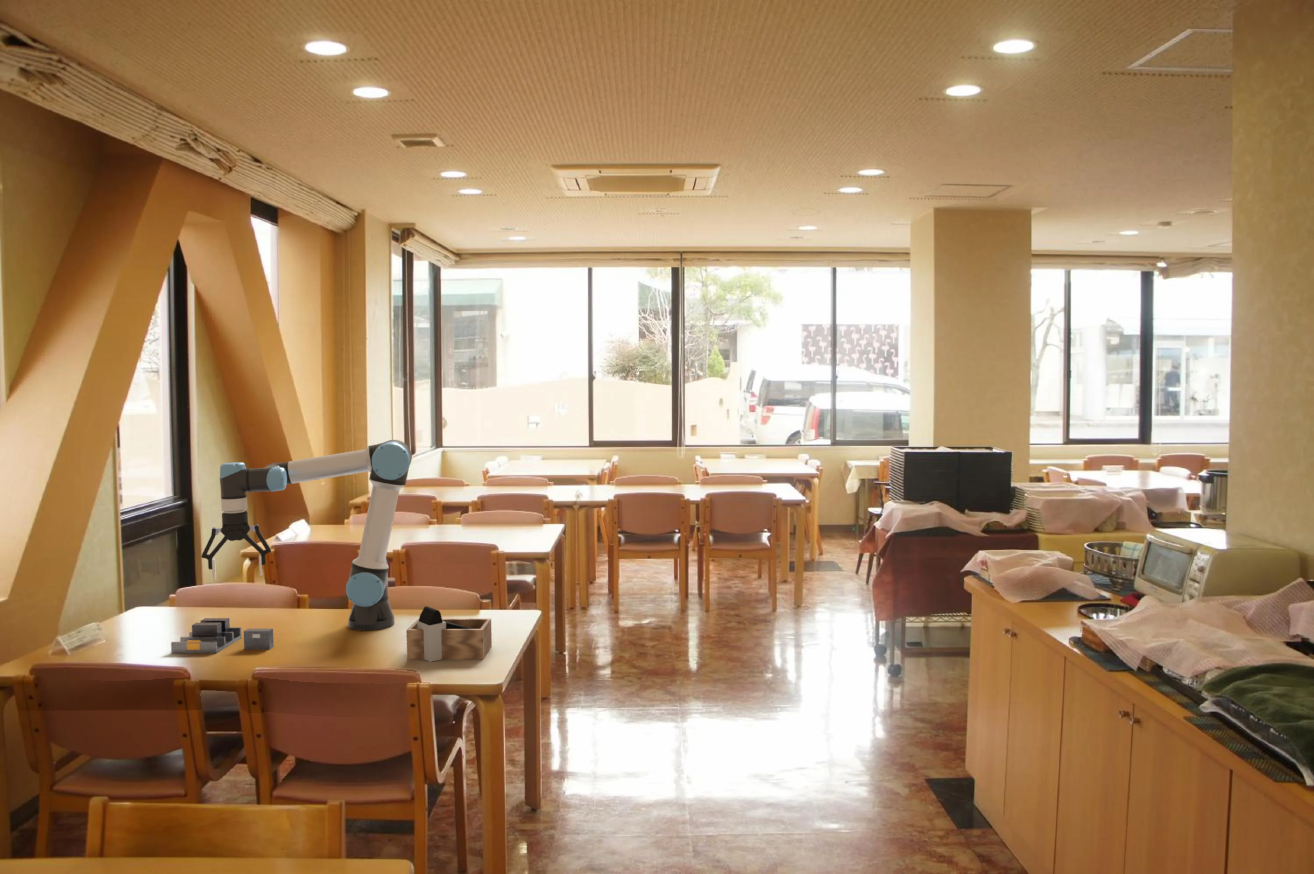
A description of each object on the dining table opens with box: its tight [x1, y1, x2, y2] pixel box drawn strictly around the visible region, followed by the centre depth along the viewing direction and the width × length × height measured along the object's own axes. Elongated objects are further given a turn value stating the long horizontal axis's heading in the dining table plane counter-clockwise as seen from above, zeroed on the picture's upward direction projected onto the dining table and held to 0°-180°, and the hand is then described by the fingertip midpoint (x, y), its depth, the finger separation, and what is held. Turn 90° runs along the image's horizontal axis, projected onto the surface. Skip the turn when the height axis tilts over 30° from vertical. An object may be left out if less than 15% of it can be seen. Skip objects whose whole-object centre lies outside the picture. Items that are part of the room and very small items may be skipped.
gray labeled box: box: [243, 628, 275, 651], centre depth 300 cm, size 8×3×6 cm, turn 89°
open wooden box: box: [405, 618, 493, 661], centre depth 293 cm, size 23×13×9 cm, turn 89°
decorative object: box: [417, 605, 472, 663], centre depth 293 cm, size 8×18×15 cm, turn 132°
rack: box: [170, 617, 242, 655], centre depth 304 cm, size 14×17×7 cm
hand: (237, 577), depth 304 cm, fingers open, 13 cm apart
